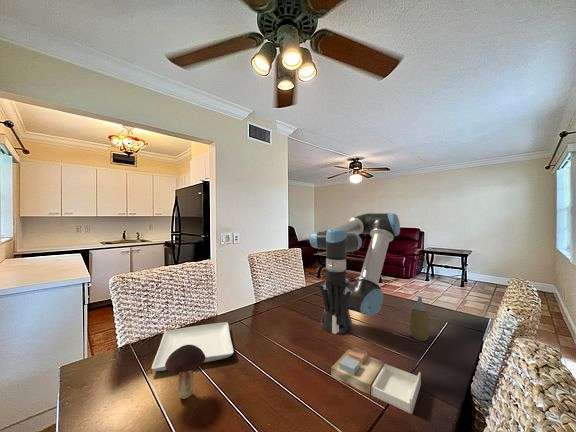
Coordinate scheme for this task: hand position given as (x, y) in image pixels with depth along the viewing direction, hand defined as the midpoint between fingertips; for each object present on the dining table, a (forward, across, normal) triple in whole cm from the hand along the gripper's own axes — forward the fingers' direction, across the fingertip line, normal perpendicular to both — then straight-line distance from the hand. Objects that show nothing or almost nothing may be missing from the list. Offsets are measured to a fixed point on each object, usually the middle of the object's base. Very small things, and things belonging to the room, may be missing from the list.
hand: (335, 332), depth 88 cm
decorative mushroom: (+11, -26, -45) cm, 53 cm away
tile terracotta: (+7, +8, 0) cm, 11 cm away
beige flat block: (+10, +10, -3) cm, 14 cm away
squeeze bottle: (+10, +22, +37) cm, 44 cm away
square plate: (+11, -48, -29) cm, 57 cm away
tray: (+10, +22, -3) cm, 25 cm away
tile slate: (+7, +8, -6) cm, 13 cm away
